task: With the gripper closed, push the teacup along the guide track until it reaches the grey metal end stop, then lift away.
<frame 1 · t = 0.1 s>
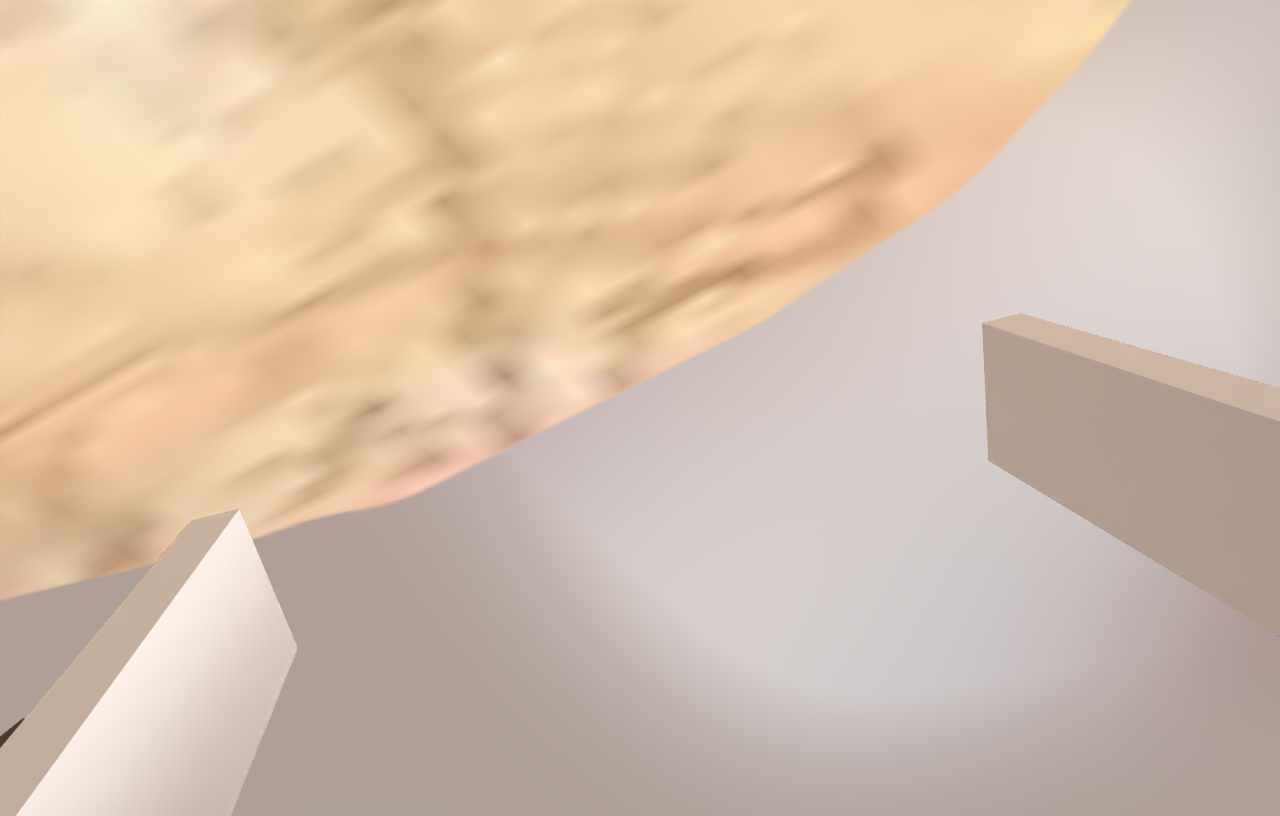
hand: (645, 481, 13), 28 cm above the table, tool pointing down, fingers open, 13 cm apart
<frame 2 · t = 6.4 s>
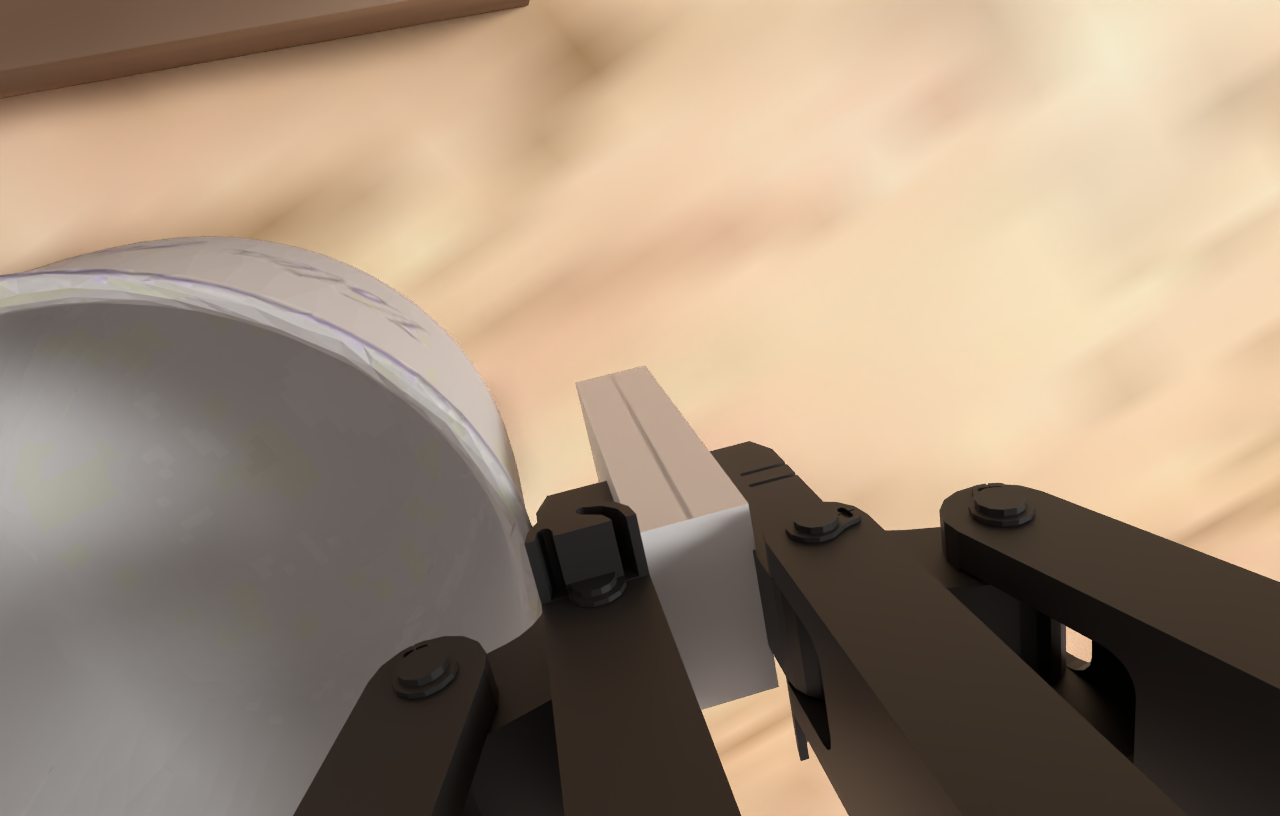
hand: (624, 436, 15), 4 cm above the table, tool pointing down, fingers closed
teacup: (227, 468, 18), on the table, touching gripper
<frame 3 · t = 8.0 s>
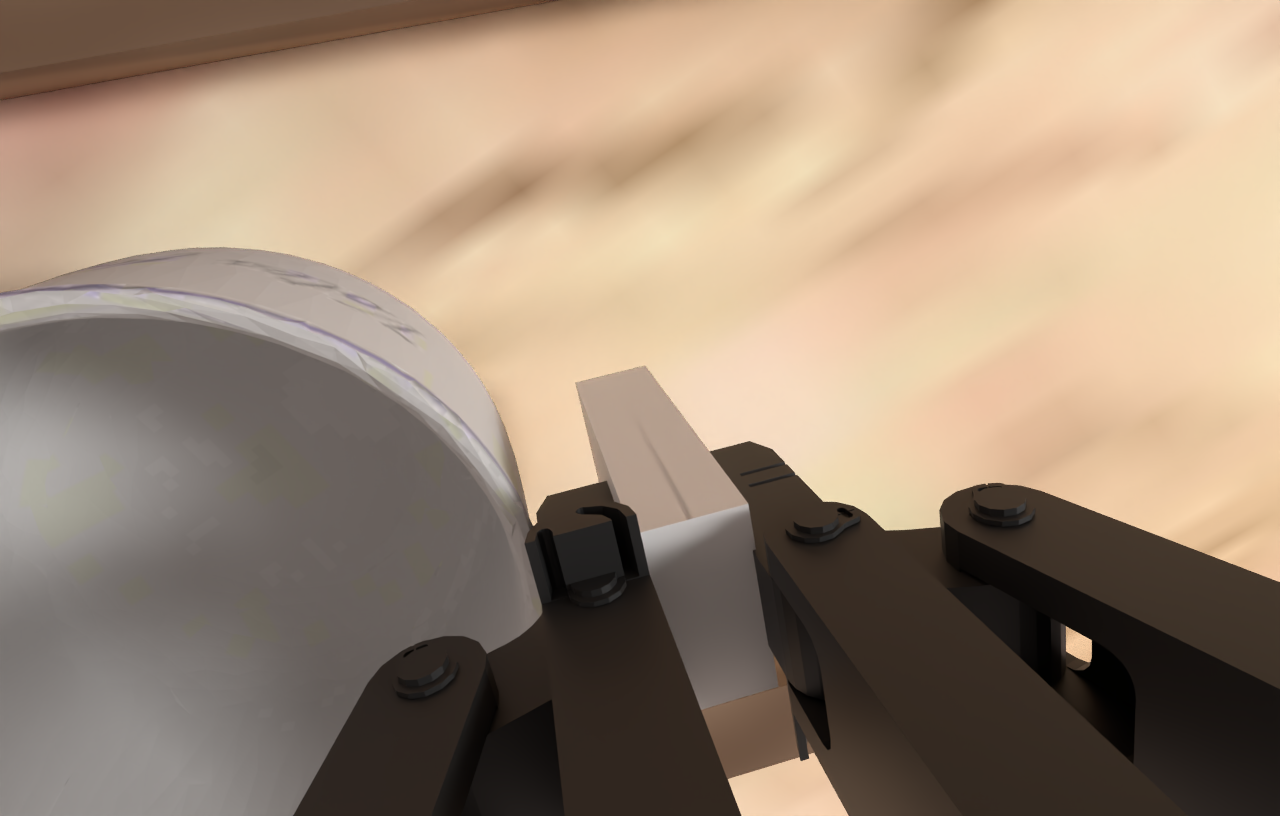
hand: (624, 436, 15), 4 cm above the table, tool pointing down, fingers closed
guide track: (367, 435, 18), on the table
teacup: (232, 478, 18), on the table, touching gripper
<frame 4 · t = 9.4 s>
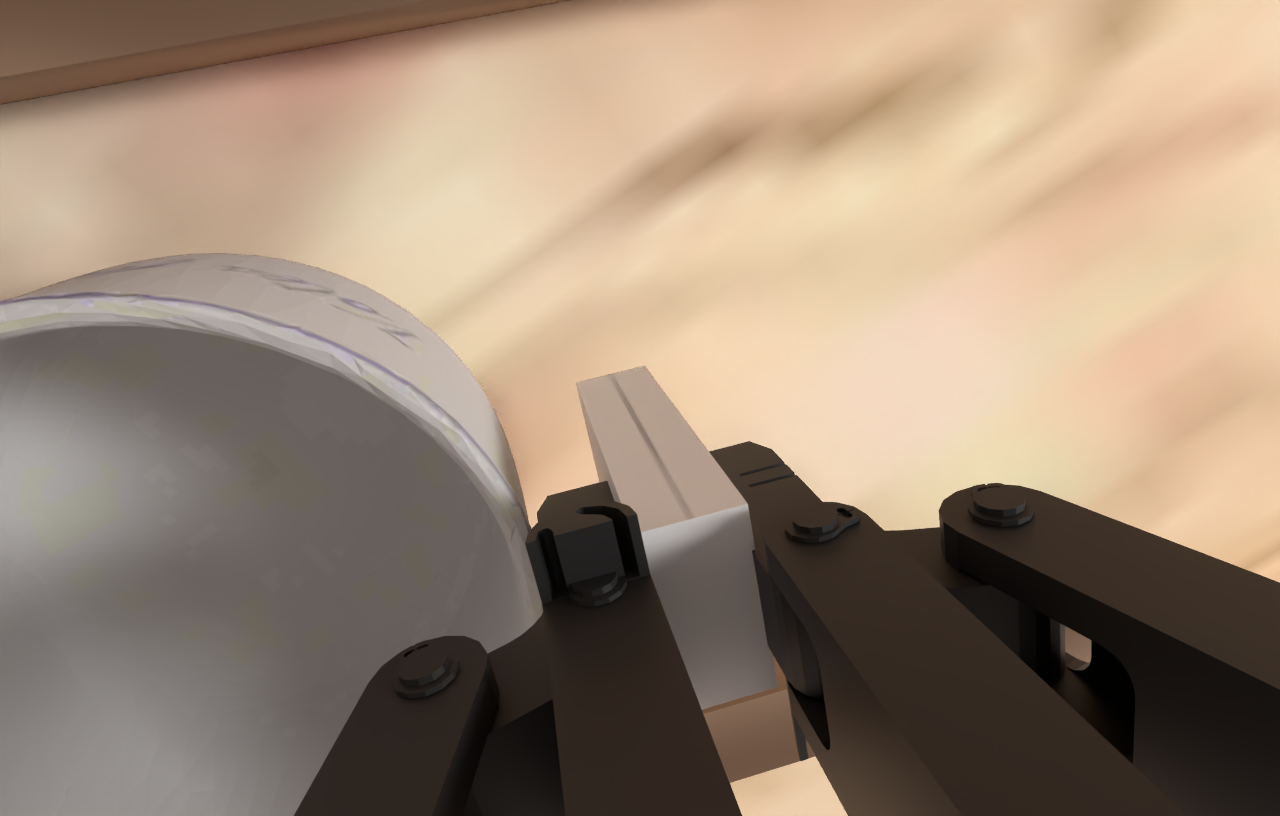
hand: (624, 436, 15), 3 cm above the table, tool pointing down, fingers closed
guide track: (569, 390, 19), on the table
teacup: (231, 483, 18), on the table, touching gripper, guide track
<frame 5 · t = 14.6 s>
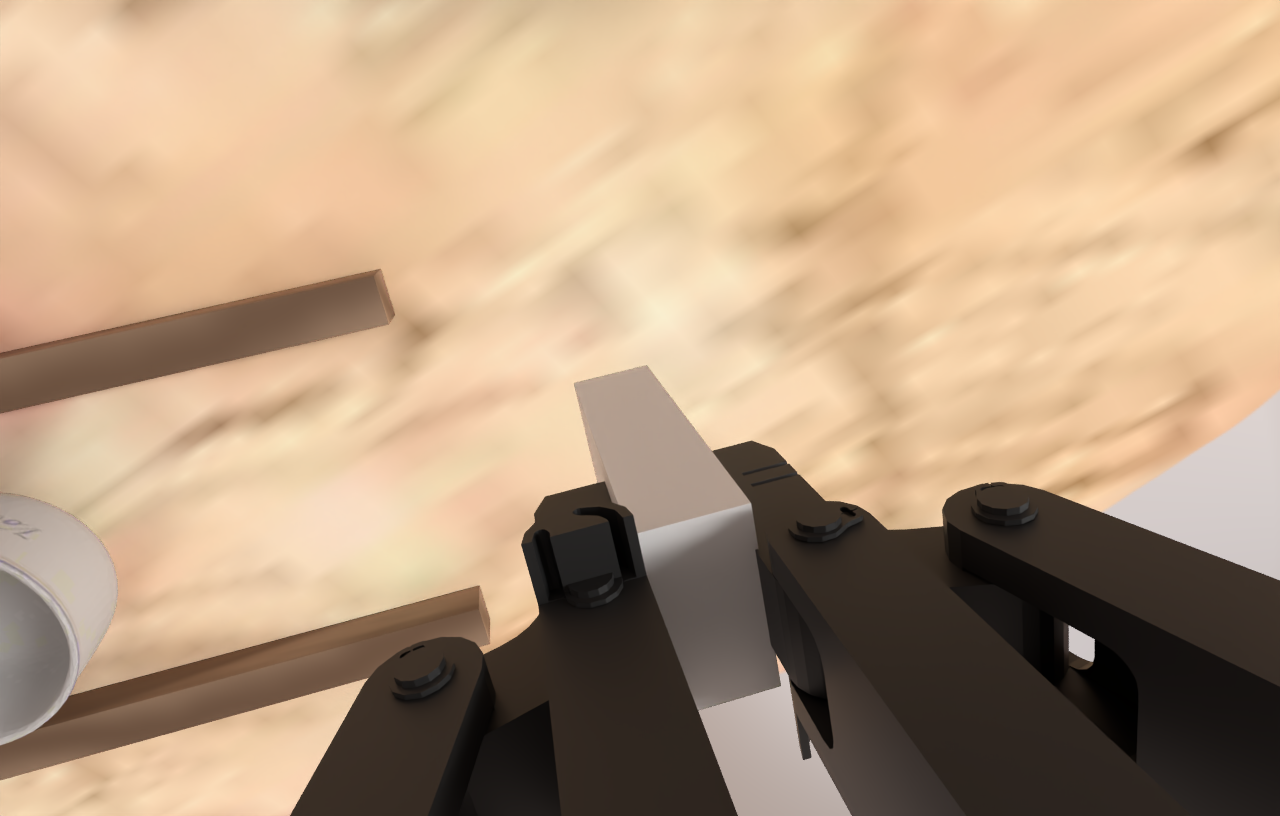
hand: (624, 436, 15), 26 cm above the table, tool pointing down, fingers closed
guide track: (160, 529, 41), on the table
teacup: (3, 572, 40), on the table
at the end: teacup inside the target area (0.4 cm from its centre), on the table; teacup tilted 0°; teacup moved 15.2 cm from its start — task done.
